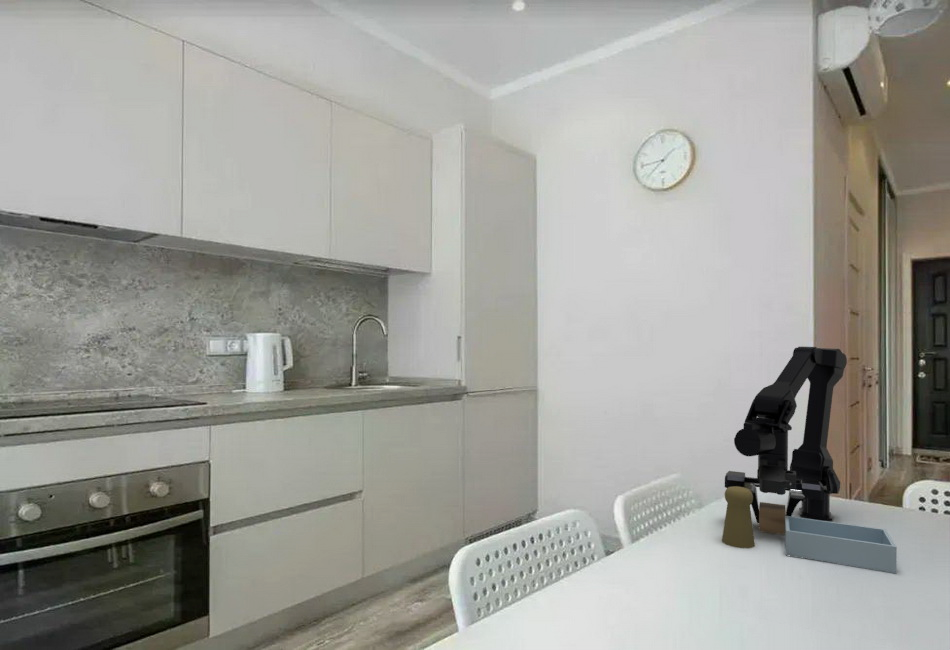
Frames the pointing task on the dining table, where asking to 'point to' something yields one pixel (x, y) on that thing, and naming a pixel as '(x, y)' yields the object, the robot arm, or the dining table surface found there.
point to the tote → (840, 543)
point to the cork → (738, 518)
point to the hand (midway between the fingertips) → (772, 524)
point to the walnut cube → (772, 518)
